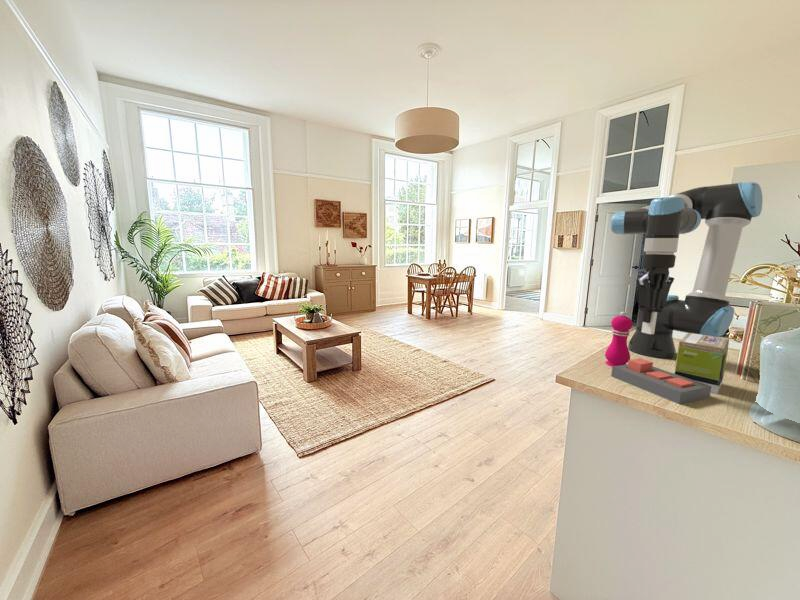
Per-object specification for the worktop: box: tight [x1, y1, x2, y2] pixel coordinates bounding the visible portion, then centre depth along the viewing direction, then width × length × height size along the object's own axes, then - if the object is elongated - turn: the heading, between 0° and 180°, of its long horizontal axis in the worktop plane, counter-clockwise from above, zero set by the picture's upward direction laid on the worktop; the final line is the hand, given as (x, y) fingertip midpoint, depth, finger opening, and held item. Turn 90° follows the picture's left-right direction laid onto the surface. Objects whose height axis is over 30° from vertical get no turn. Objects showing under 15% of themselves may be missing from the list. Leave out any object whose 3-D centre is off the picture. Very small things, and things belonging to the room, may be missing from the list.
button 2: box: [646, 371, 672, 380], centre depth 96 cm, size 5×4×4 cm
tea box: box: [673, 333, 730, 395], centre depth 99 cm, size 15×10×15 cm
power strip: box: [610, 363, 712, 405], centre depth 99 cm, size 13×26×4 cm, turn 19°
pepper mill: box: [604, 311, 633, 368], centre depth 112 cm, size 7×7×20 cm
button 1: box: [627, 357, 654, 373], centre depth 101 cm, size 5×4×4 cm
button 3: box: [666, 377, 694, 388], centre depth 91 cm, size 5×4×4 cm
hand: (647, 332), depth 99 cm, fingers closed
